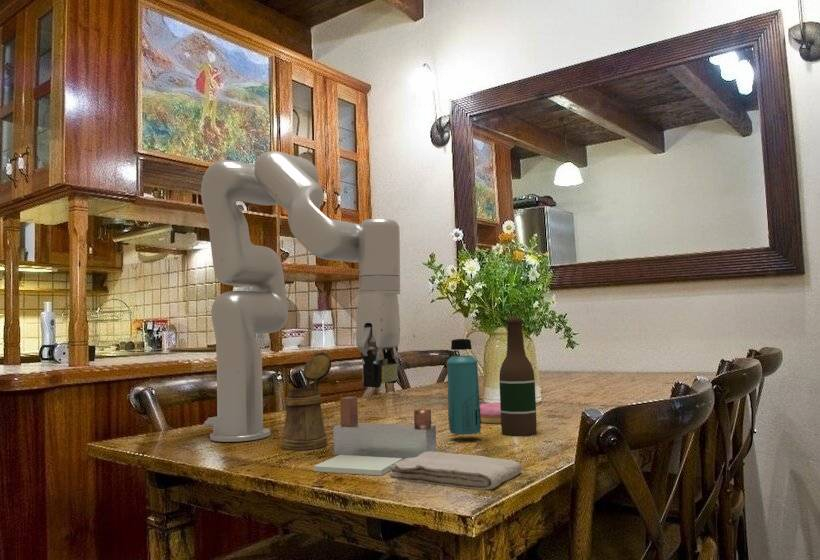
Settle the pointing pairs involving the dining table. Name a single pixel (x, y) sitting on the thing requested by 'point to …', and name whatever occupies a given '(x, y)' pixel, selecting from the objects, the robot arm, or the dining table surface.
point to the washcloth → (456, 470)
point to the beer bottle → (517, 385)
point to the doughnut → (490, 413)
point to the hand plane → (382, 435)
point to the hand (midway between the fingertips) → (380, 383)
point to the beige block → (388, 371)
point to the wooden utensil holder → (306, 409)
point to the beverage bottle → (463, 391)
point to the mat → (357, 465)
